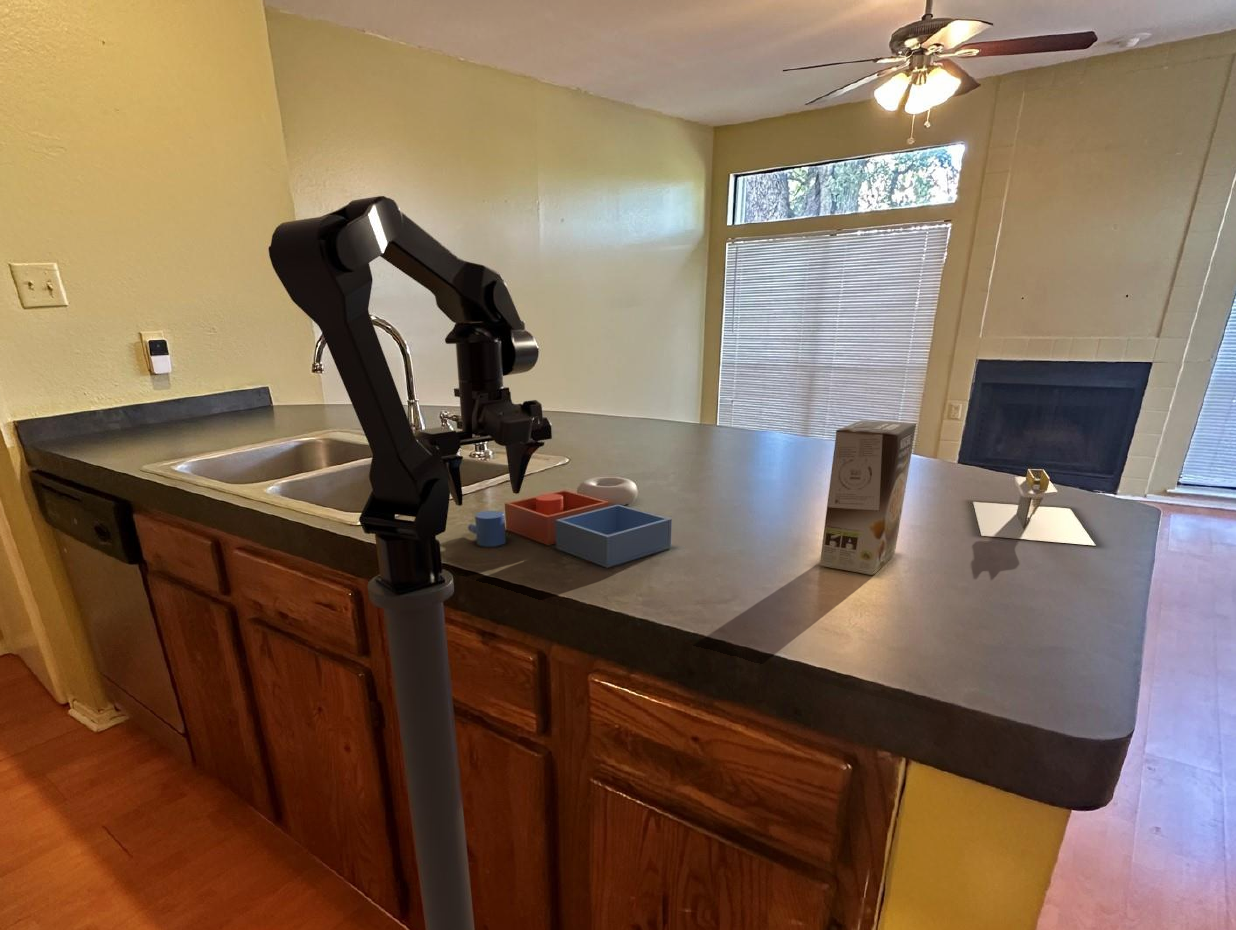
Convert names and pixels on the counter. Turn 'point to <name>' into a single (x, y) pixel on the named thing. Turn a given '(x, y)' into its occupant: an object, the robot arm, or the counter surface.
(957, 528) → the counter surface
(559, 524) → the blue bin
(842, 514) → the coffee box
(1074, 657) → the counter surface
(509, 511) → the red bin
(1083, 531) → the platform
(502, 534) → the blue handled mug
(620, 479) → the donut
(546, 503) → the red cylinder with peg
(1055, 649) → the counter surface
